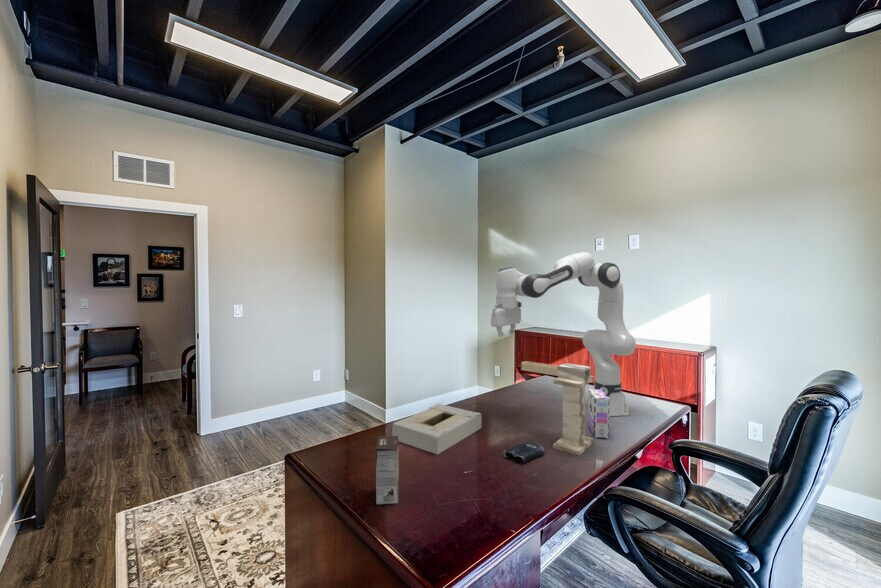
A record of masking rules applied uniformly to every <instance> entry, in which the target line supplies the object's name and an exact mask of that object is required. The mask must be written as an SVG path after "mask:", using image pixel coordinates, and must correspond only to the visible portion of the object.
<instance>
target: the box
mask: <svg viewBox="0 0 881 588" xmlns="http://www.w3.org/2000/svg"><path fill="white" fill-rule="evenodd" d="M482 423H483V415H482V413H480V412H474V411H472V410H467V409H463V408H458V407H454V406H449V405H444V404H443V403H436V404H434V405H433V406H430V407H429V408H428V409H425V410H423V411H421V412H418V413H415V414H413V415H411V416H409V417H406V418H404V419H400V420H397V421H395V422H393V423H392V429H391V432H392V433H391V434H392V435H391V436H398V443H403V444H405V445H409V446H411V447H414V448H417V449H420V450H423V451H425V452H429V453H430V454H431V453H432V454H434V455H439V454H441V453H442V452H444V451H446V450H447V449H449V448H451V447H452V446H454V445H456V444H457V443H459V442H461V441H462V440H465V439H466V438H467V437H469V436H471V435H472V434H474V433H475V432H477V431H479V430H480V429H482Z"/></svg>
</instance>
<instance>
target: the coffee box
mask: <svg viewBox="0 0 881 588" xmlns="http://www.w3.org/2000/svg"><path fill="white" fill-rule="evenodd" d="M375 445H376V447H375V461H376V462H375V472H376V473H375V478H376V479H375V482H376V483H375V485H376V487H375V495H376V496H375V497H376V499H375V501H376V503H375V504H376V505H386V504H388V505H390V504H399V491H400V490H399V487H400V484H399V482H400V481H399V480H400V479H399V478H400V477H399V475H400V474H399V472H400V471H399V468H400V466H399V465H400V464H399V463H400V461H399V460H400V459H399V458H400V457H399V454H400V453H399V441H398V436H392V435H379V436H377V439H376V444H375Z"/></svg>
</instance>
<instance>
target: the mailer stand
mask: <svg viewBox="0 0 881 588" xmlns="http://www.w3.org/2000/svg"><path fill="white" fill-rule="evenodd" d="M557 366H558V376H557V377H555V378H553V381H552V383H553V385H558V386H562V436H561V437H560V438H559V439H558V440H556V441H555V442H554V443H553V444H552V448H553V449H555V450H558V451H562V452H566V453H569V454H572V455H576V456H581V455H582V454H583V453H584V452H585V451H586V450H587V449H588V448H589V447H590V446H591V445H592V444H593V443H594V442H595V440H594V437H593V438H592V437H589V436H586V386H587V385H588V384H590V383H591V382H593V381H595V375H591V374H592V373H591V372H592V371H591V370H592V369H591V368H592V367H591V366H590V365H584V364H583V365H582V364H575V363H568V362H564V363H562V364H560V365H559V364H558V365H557Z"/></svg>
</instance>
